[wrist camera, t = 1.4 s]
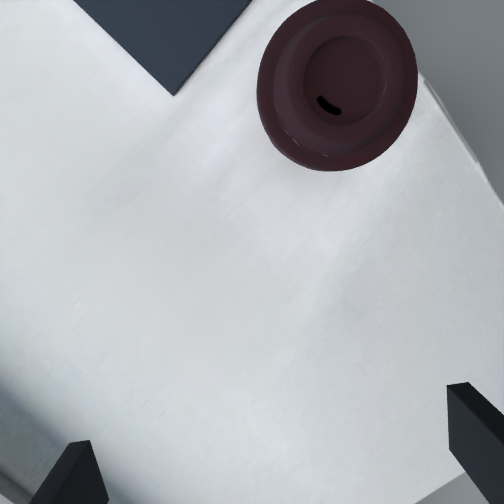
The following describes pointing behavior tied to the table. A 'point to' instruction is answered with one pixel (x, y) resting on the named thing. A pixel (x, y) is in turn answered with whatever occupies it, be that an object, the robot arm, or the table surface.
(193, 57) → the mat
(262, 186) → the table surface
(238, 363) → the table surface
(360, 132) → the coffee cup
